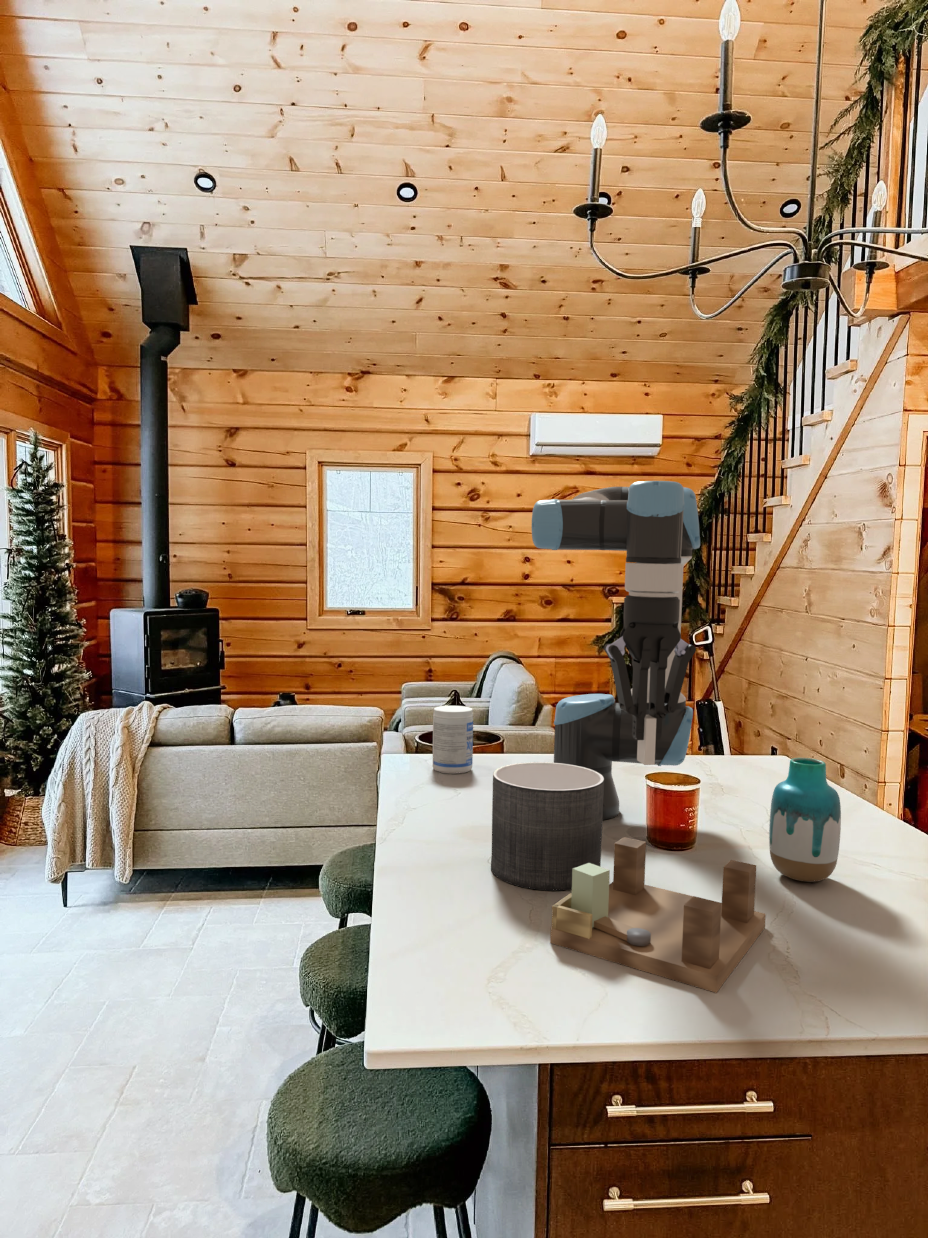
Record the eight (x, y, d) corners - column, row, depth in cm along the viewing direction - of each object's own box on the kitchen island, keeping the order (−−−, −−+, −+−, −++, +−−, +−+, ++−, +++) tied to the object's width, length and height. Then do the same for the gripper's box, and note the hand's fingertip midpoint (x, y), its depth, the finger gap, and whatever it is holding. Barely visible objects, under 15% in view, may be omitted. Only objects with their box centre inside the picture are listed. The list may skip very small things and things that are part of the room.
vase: (834, 871, 141) (841, 757, 140) (840, 895, 131) (847, 772, 130) (766, 862, 145) (772, 751, 143) (767, 885, 135) (773, 765, 133)
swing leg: (640, 949, 107) (642, 894, 106) (570, 919, 115) (572, 868, 114) (656, 941, 109) (658, 887, 109) (587, 912, 117) (589, 862, 117)
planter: (527, 899, 127) (530, 795, 126) (471, 861, 143) (473, 768, 142) (623, 881, 135) (627, 783, 134) (560, 846, 151) (563, 758, 150)
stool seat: (550, 943, 113) (552, 876, 112) (617, 891, 131) (619, 833, 130) (716, 993, 101) (719, 918, 100) (764, 927, 119) (768, 864, 118)
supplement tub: (476, 774, 200) (477, 711, 199) (436, 775, 198) (437, 712, 197) (467, 764, 209) (468, 704, 208) (429, 765, 207) (430, 705, 206)
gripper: (683, 593, 123) (677, 754, 125) (597, 592, 120) (592, 757, 122) (708, 596, 116) (701, 767, 118) (617, 595, 113) (611, 771, 115)
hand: (645, 762), depth 120 cm, fingers closed
